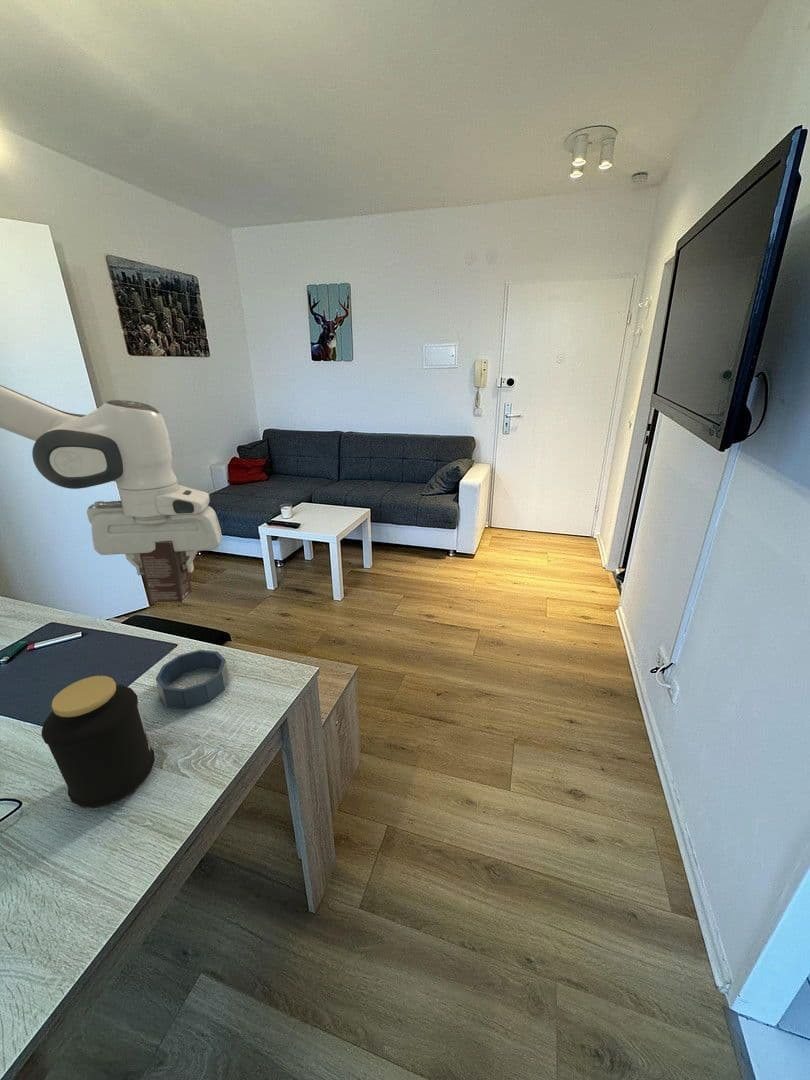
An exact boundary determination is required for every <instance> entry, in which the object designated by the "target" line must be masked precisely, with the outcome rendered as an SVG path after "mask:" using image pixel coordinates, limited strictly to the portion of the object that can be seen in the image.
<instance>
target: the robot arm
mask: <svg viewBox="0 0 810 1080" xmlns="http://www.w3.org/2000/svg"><path fill="white" fill-rule="evenodd" d="M0 429H2V430H5V431H7V432H10V433H13V434H16V435H18V436H21V437H23V438H26V439H29V440H31V441H33V442H34V444H33V446H32V451H31V452H32V453H31V455H32V461H33V464H34V466H35V469H37V471H38V472H39V473H40V475H41V476H42V477H43V478H45V479H46V480H47V481H48V482H49V483H52V484H53V485H56V486H58V487H61V488H65V489H70V490H79V489H86V488H90V487H96V486H99V485H104V484H108V483H111V482H114V483H116V486H117V489H118V494H119V498H120V500H109V501H104V500H103V501H102V500H98V501H95V502H93V504H90V505H89V506H88V507H87V509H86V514H87V519H88V522H89V524H90V525H91V539H92V544H93V548H94V551H95V552H96V553H98V554H99V555H100V556H115V555H125V558H126V560H127V561H128V562H129V563H130V564H131V565H132V566H133V567H134V568H135V569H136V573H137V576H145V575H144V570H143V566H142V562H141V557H140V556H139V555H140V553H149V552H152V551H153V550H155V543H153V542H162V541H172V544H173V548H174V551H175V552H180V551H184V553H185V557H188V560H186V561H184V562H183V563H182V569H183V570H182V571H183V573H188V574H190V573H193V572H194V570H195V566H194V560H195V558H196V555H197V553H198V552H199V551H215V550H217V548H218V547H219V546H220V545H221V544H222V541H223V535H222V530H221V525H220V521H219V518H218V515H217V513H216V511H215V510H214V509H213V507H211V506H210V505H209V504H210V500H211V499H210V494H209V493H208V492H206V491H203V490H199V489H195V488H191V487H189V486H188V487H187V486H184V485H180V484H179V482H178V481H179V480H178V476H177V474H176V472H175V471H174V468H173V459H174V453H173V447H172V443H171V438H170V435H169V434H170V433H169V431H168V428H167V424H166V421H165V419H164V417H163V415H162V414H161V412H160V411H159V410H158V409H157V408H156V407H154V406H152V405H150V404H147V403H143V402H139V401H132V400H125V399H124V400H120V399H112V400H107V401H105V402H104V403H102V405H100V406H99V407H98V408H97V409H95V410H93V411H91V412H89V413H88V414H80V413H72V412H67V411H63V410H60V409H59V408H55V407H53V406H51V405H48V404H46V403H43V402H42V401H39V400H37V399H34V398H31V397H30V396H28V395H25V394H22V393H20V392H17V391H16V390H13V389H11V388H8V387H6V386H4V385H2V384H0Z"/></svg>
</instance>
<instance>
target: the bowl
mask: <svg viewBox="0 0 810 1080" xmlns="http://www.w3.org/2000/svg"><path fill="white" fill-rule="evenodd" d="M226 660H227V659H225V658H224V657H223V655H221V654H220V652H219V651H214V650H207V649H206V650H205V649H198V650H194V651H190V652H186V653H182V654H179V655H177V656H175V657H174V658H173V659H171V660H170V661H168V662H166V663H165V664H163V665H162V666H161V668H160V669H159V672H158V673H157V675H156V677H155V682H156V686H157V690H158V695H159V697H160V699H161V700H162V702H163V703H164V704H165V706H166V707H167V708H173V709H179V710H180V709H181V710H189V709H192V708H196V707H198V706H199V707H200V706H202V705H205V704H206V705H207V704H209V703H210V702H212V701H213V700H214V699H215V698H217V697H218V696H219V695H220V694H222V693H223V692H224V691H225V690H226V688H227V684H228V680H229V677H230V676H229V672H228V666H227V661H226ZM199 670H212V671H213V670H214V671H218V672H216V673H215V674H213V675H212V676H211V677H210V678H208V679H207V680H205V681H204V682H202V683H198V684H195V685H191V686H188V687H185V688H181V687H172V686H170V684H172V683H173V682H175V681H176V680H178V679H179V678H180V677H182V676H183V675H185V674H187V673H192V672H195V671H199Z"/></svg>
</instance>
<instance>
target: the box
mask: <svg viewBox="0 0 810 1080" xmlns="http://www.w3.org/2000/svg"><path fill="white" fill-rule="evenodd" d="M153 543H155V550H153V551H152V552H149V553H139V558H140V559H141V562H142V566H143V570H144V575H143V576H144V578H145V583H146V588H147V592H148V597H149V601H150V603H183V602H185V601H186V599H188V597H189V596H190V595H191V594H192V592H193V591H192V585H191V580H190V573H183V571H182V570H183V569H182V563H183V562H184V561H187V558H186V552H185V551H180V552H175V551H174V548H173V544H172V541H162V542H153Z"/></svg>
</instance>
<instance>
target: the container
mask: <svg viewBox="0 0 810 1080" xmlns="http://www.w3.org/2000/svg"><path fill="white" fill-rule="evenodd" d="M138 699H139V698H138V695H137V693H136V692H135V691H134V690H133V688H131V687H129V686H126V685H123V684H117V683H116V681H115V680H114V679H113V678H112V677H110V676H107V675H94V676H89V677H85V678H82V679H79V680H78V681H75V682H73V683H71V684H69V685H67V686H66V687H64V688H62V689H61V690H60V691H59V692H58V693H56V695H55V696H54V697H53V699H52V702H51V710H52V711H51V712H50V713H49V715H48V716H47V717H46V719H45V720H44V722H43V724H42V728H41V738H42V740H43V742H44V743H45V744H46V745H47V746H48V748H49V750H50V753H51V755H52V756H53V759H54V761H55V763H56V765H57V768H58V770H59V771H60V774H61V776H62V778H63V780H64V782H65V784H66V786H67V788H68V789H67V795H68V797H69V799H70V801H71V802H72V803H73V804H75V805H77V806H79V808H86V809H87V808H88V809H96V808H101V807H107V806H110V805H112V804H115V803H117V802H118V801H122V800H123V799H124V798H126V797H127V796H129V795H131V794H132V793H134V792H135V791H136V790H137V789H138V788H139V787H140V786H142V784H143V783H145V781H146V780H147V778H148V777H149V776H150V774H151V773H152V770H153V767H154V765H155V761H156V758H155V757H156V756H155V750H154V749H153V748H152V747H151V745H150V741H149V738H148V734H147V730H146V727H145V724H144V720H143V716H142V713H141V710H140V705H139V700H138Z"/></svg>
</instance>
